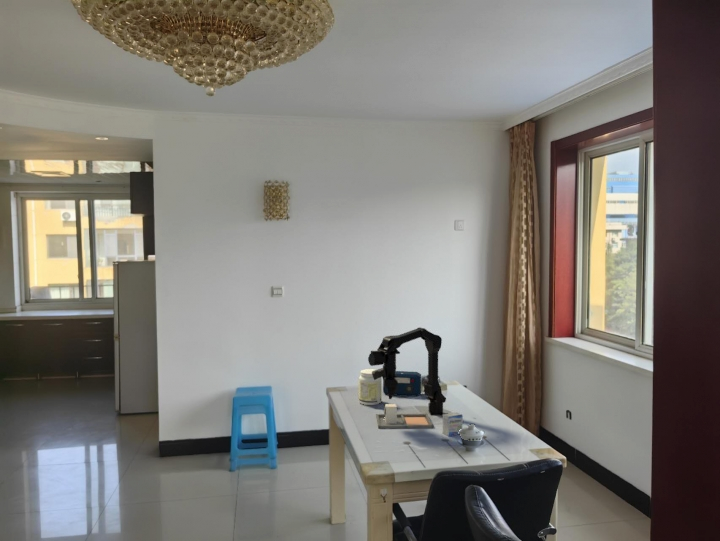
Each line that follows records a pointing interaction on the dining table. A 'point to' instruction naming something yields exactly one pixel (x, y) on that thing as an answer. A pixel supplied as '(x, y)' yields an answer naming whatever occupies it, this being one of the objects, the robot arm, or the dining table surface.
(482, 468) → the dining table surface
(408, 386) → the radio
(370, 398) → the supplement tub
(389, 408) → the plug
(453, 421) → the medicine box
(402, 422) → the dock
